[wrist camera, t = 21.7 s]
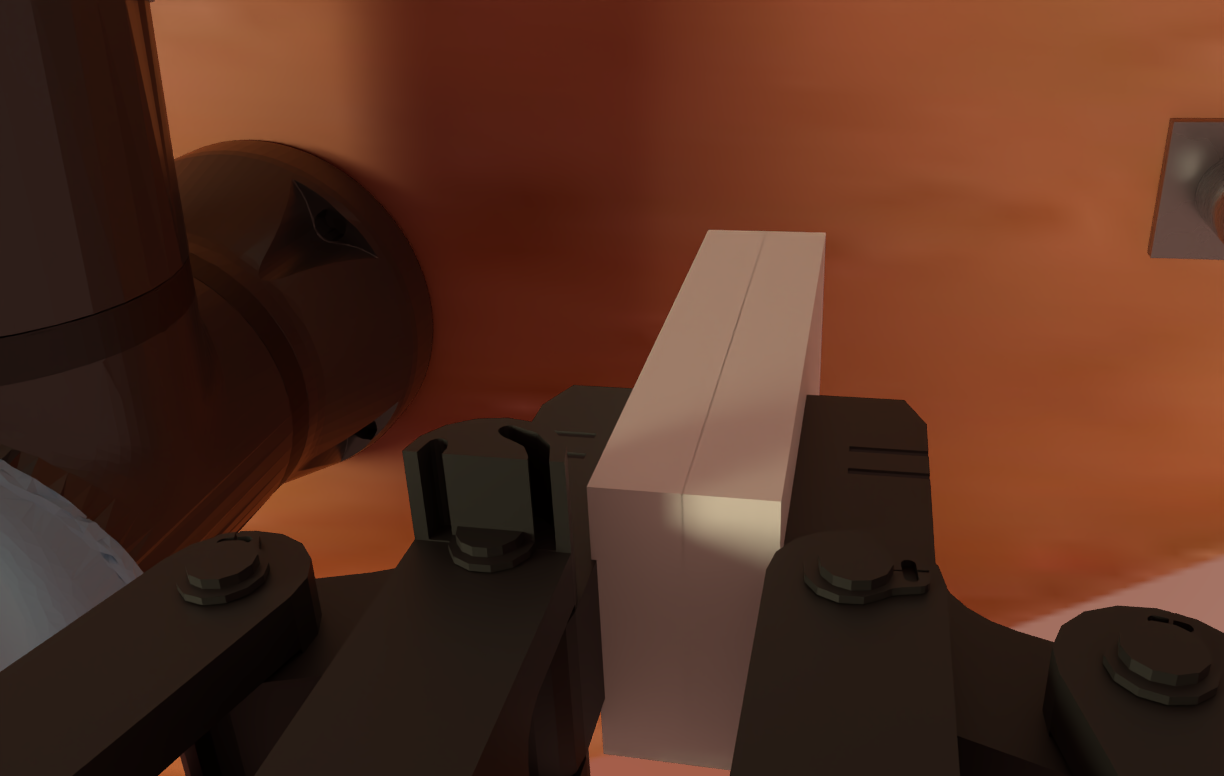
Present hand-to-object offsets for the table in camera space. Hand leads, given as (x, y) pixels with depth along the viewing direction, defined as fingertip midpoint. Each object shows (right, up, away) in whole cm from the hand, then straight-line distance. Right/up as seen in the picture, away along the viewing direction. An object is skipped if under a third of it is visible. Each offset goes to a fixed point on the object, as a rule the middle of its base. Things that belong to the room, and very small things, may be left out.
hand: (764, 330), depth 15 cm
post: (+20, +6, +25) cm, 33 cm away
